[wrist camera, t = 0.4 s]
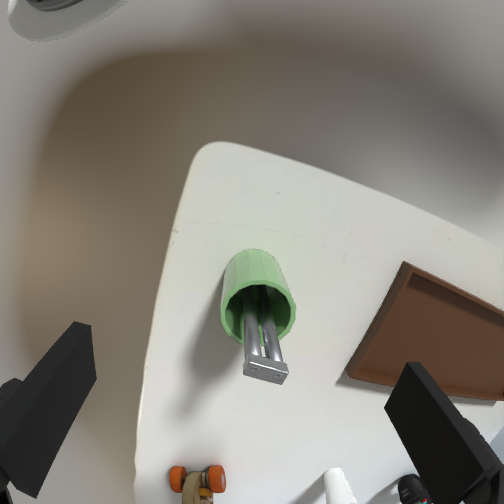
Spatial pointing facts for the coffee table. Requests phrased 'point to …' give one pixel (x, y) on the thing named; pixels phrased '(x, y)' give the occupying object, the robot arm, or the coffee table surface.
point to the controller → (413, 491)
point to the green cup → (255, 293)
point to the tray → (434, 337)
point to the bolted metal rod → (254, 363)
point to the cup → (337, 488)
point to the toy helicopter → (197, 484)
